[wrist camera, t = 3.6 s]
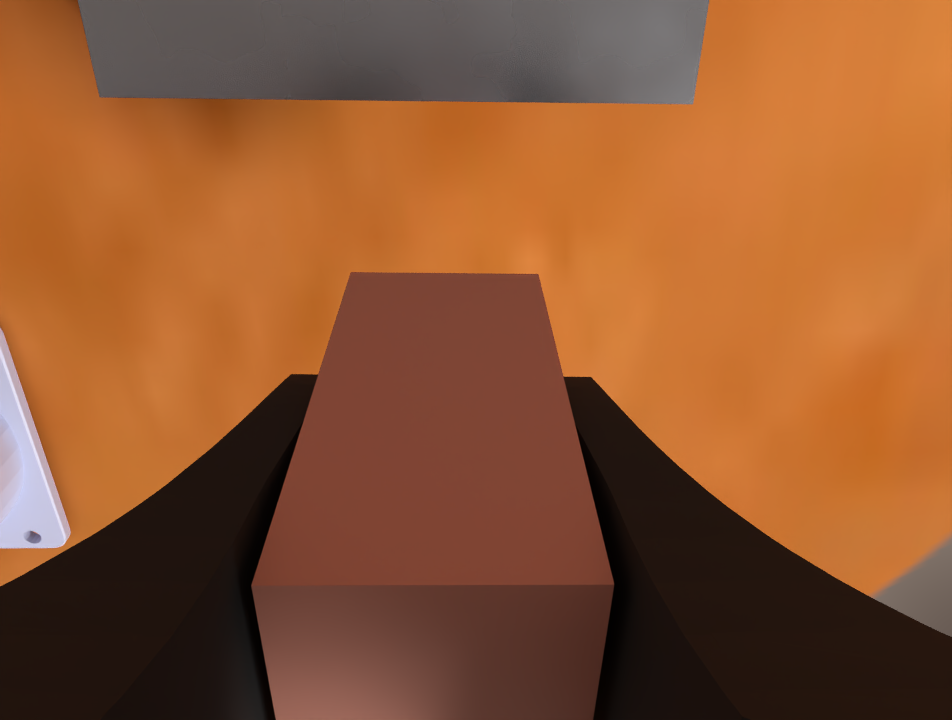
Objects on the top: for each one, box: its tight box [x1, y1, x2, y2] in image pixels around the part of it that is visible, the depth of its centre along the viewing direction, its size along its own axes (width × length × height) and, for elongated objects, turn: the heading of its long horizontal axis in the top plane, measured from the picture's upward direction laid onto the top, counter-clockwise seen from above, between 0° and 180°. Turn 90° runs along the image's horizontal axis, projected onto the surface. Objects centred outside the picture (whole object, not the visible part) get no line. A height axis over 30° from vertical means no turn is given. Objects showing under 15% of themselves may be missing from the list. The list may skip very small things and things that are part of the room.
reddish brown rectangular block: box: [251, 272, 614, 720], centre depth 10 cm, size 3×3×7 cm
